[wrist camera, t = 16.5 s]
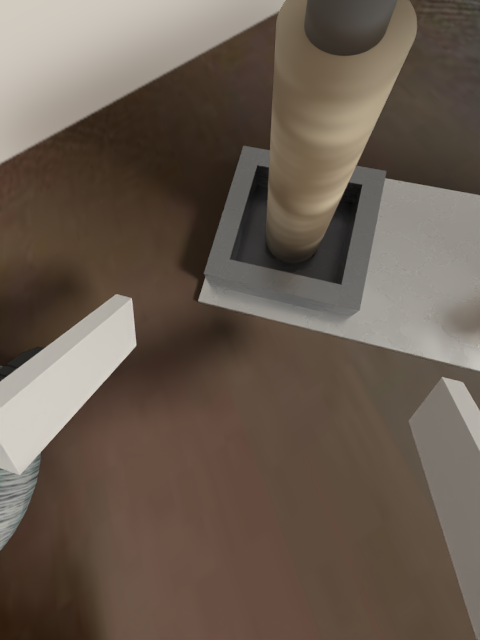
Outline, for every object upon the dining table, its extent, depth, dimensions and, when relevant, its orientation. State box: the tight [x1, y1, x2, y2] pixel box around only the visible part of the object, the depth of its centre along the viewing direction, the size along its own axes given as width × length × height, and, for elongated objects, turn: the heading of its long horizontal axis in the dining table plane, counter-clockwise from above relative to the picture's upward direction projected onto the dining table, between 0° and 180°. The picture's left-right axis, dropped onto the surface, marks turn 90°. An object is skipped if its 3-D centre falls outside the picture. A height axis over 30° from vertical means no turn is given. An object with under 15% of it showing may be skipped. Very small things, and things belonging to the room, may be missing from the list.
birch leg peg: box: [266, 0, 417, 263], centre depth 15 cm, size 4×4×15 cm
